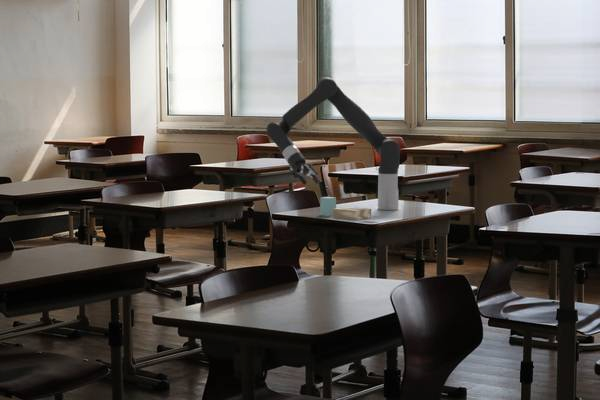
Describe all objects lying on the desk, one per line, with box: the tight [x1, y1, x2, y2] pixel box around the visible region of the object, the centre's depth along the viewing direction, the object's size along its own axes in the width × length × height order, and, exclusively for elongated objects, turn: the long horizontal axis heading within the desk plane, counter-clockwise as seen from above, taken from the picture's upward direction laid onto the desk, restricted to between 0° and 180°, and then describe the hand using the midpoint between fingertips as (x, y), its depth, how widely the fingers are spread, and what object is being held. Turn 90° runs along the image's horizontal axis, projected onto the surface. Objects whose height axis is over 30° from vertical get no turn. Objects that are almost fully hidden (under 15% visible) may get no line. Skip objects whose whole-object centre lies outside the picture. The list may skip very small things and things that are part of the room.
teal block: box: [319, 196, 337, 217], centre depth 452 cm, size 5×5×8 cm
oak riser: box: [332, 206, 372, 221], centre depth 443 cm, size 12×12×4 cm
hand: (312, 183), depth 458 cm, fingers open, 8 cm apart
